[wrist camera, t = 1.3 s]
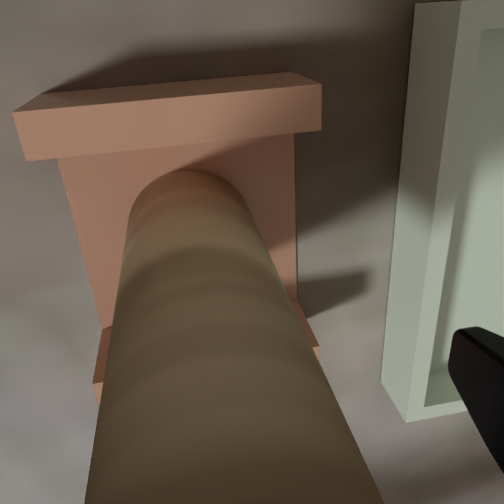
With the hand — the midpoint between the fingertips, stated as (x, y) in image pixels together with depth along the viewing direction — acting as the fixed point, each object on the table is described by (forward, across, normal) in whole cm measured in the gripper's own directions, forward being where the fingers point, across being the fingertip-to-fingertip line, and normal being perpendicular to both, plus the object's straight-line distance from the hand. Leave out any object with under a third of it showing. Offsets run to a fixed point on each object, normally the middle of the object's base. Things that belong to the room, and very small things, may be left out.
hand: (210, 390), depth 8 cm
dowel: (+7, 0, 0) cm, 7 cm away
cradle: (+7, 0, 0) cm, 7 cm away
